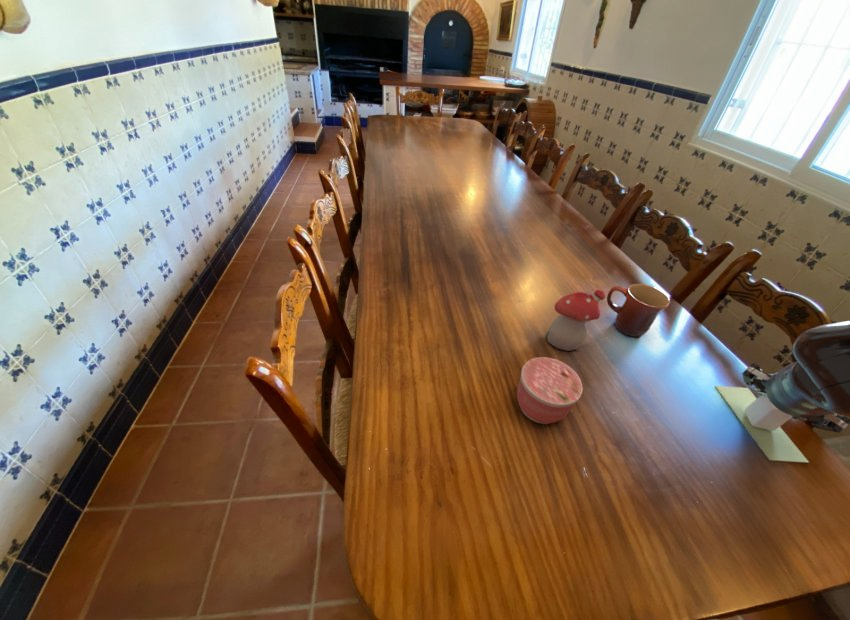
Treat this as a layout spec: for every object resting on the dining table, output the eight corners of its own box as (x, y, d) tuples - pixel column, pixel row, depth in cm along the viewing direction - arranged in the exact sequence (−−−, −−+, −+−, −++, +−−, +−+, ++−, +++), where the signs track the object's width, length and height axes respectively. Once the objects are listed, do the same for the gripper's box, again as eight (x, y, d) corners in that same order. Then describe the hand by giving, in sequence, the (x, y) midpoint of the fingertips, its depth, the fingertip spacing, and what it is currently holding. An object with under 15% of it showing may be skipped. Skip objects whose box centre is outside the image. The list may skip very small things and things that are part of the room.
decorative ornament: (584, 339, 83) (610, 287, 73) (583, 358, 78) (611, 305, 68) (543, 327, 85) (563, 275, 75) (540, 345, 80) (562, 293, 70)
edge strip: (808, 462, 62) (809, 462, 62) (769, 460, 62) (770, 460, 62) (747, 388, 74) (748, 387, 74) (714, 386, 74) (715, 385, 74)
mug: (651, 326, 88) (672, 293, 81) (644, 346, 82) (667, 313, 75) (601, 306, 93) (617, 274, 86) (592, 324, 87) (609, 290, 80)
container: (537, 440, 62) (551, 414, 57) (500, 395, 69) (509, 368, 64) (579, 416, 66) (595, 390, 61) (540, 376, 73) (552, 349, 68)
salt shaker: (764, 414, 69) (801, 384, 63) (774, 432, 66) (814, 402, 60) (741, 409, 70) (776, 378, 64) (750, 427, 67) (788, 396, 61)
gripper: (892, 406, 48) (843, 416, 61) (770, 340, 56) (750, 361, 70) (848, 446, 49) (809, 447, 62) (734, 375, 57) (722, 389, 71)
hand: (778, 402), depth 66 cm, fingers closed on salt shaker, 5 cm apart
